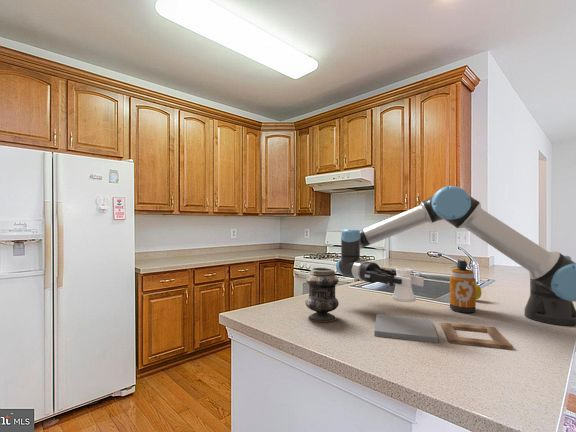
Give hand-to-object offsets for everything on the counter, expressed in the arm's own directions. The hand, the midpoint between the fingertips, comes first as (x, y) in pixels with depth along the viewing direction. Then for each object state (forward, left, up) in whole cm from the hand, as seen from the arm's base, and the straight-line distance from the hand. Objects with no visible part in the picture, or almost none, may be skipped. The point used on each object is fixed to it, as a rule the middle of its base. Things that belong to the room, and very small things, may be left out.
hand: (416, 282), depth 99 cm
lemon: (-27, -52, -16) cm, 61 cm away
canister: (-19, -35, -16) cm, 43 cm away
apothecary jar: (+32, -7, -16) cm, 36 cm away
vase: (+4, -4, -7) cm, 9 cm away
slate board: (+4, -4, -16) cm, 17 cm away
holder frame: (-16, -4, -16) cm, 23 cm away
